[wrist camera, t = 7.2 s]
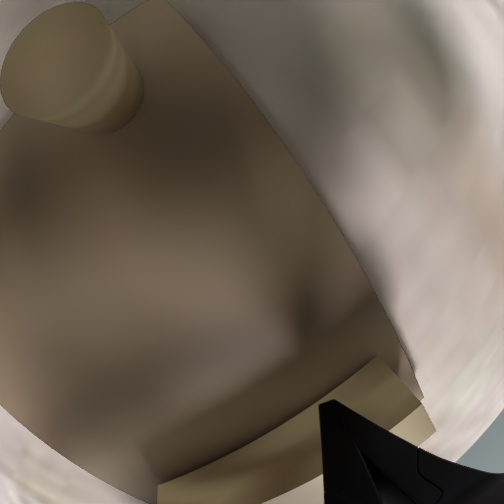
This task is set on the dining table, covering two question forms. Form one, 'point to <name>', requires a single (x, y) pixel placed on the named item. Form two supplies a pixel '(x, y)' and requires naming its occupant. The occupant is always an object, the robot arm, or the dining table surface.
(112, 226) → the board
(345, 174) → the dining table surface
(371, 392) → the leg
